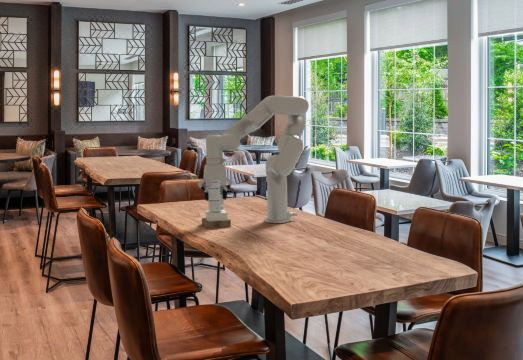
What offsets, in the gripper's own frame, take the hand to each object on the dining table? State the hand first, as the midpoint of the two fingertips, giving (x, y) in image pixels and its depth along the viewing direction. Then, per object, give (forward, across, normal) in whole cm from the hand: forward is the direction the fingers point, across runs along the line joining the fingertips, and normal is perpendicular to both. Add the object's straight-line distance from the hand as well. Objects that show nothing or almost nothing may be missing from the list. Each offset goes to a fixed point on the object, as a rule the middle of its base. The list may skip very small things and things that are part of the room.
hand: (215, 199), depth 290 cm
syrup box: (+5, 0, 0) cm, 5 cm away
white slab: (+9, 0, 0) cm, 9 cm away
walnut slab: (+13, 0, 0) cm, 13 cm away
